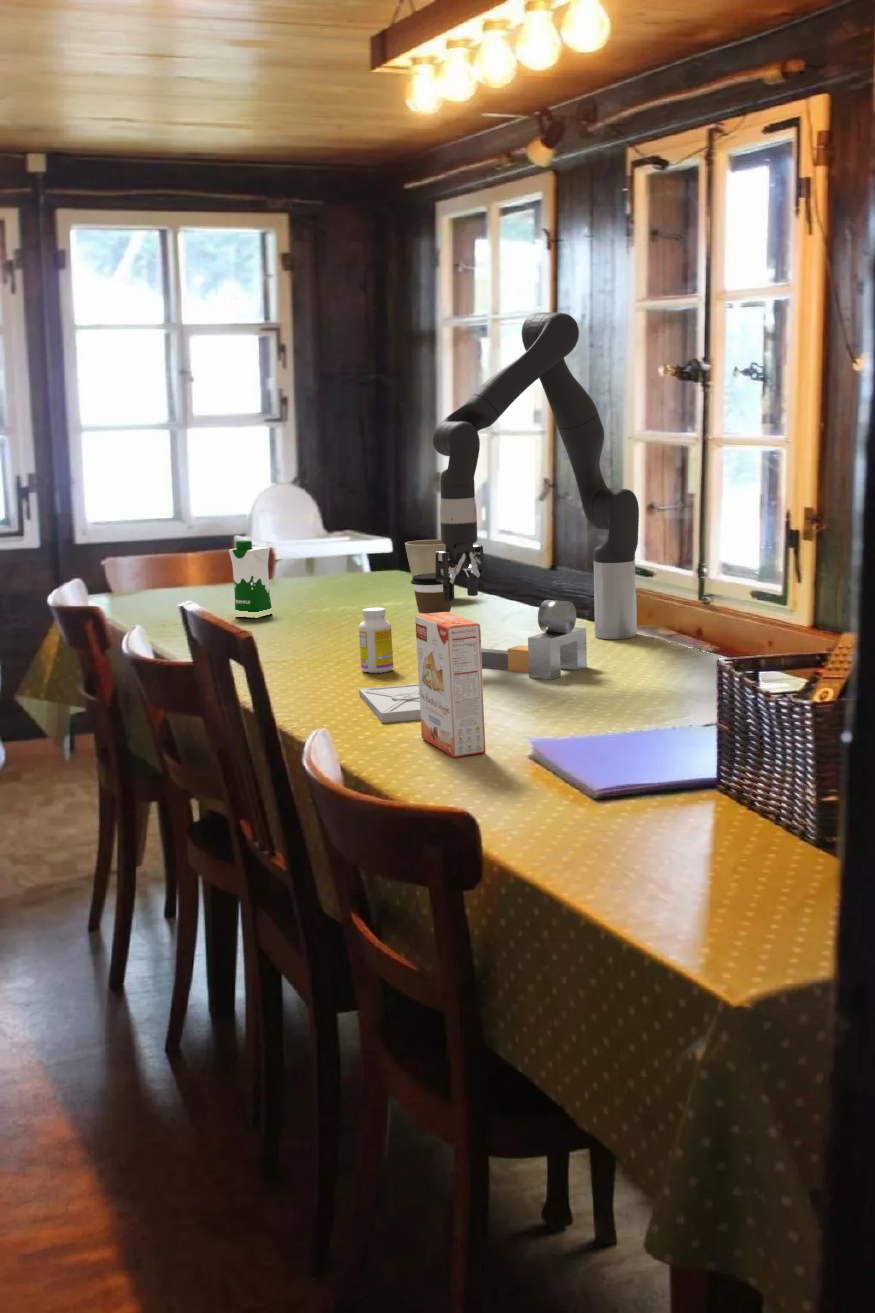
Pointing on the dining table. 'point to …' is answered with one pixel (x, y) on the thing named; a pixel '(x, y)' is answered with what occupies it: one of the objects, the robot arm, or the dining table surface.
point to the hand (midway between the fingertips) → (461, 598)
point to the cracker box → (450, 683)
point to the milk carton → (250, 577)
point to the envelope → (393, 702)
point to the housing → (556, 641)
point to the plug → (506, 658)
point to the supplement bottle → (375, 641)
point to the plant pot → (423, 555)
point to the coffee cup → (430, 594)
